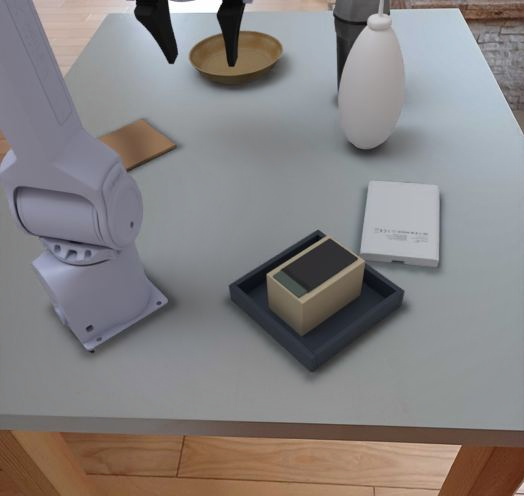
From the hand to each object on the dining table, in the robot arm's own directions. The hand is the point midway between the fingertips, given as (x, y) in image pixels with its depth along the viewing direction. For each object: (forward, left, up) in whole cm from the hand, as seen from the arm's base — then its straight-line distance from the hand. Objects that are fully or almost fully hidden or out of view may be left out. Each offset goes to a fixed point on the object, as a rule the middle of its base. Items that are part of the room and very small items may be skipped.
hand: (203, 60), depth 64 cm
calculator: (-11, -32, -10) cm, 35 cm away
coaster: (-10, +6, -10) cm, 15 cm away
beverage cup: (+20, -7, -11) cm, 24 cm away
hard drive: (+4, -30, -11) cm, 32 cm away
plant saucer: (+14, +13, -11) cm, 23 cm away
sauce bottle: (+13, -16, -11) cm, 23 cm away
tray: (-11, -32, -10) cm, 35 cm away
